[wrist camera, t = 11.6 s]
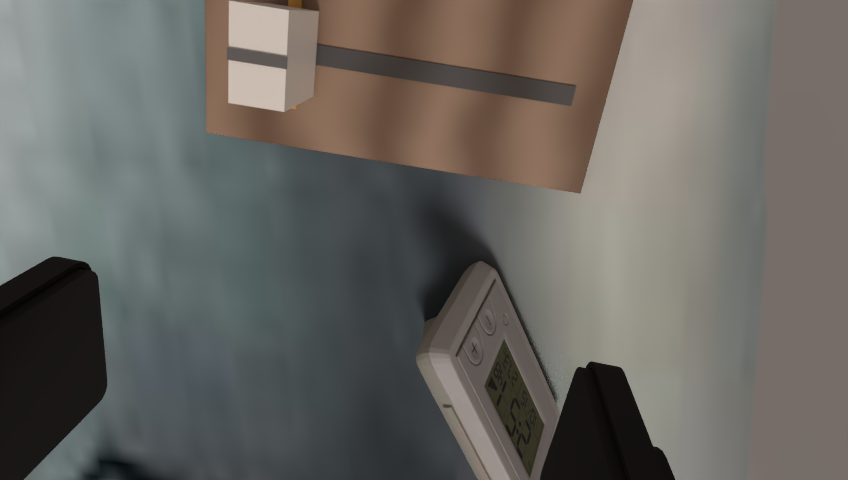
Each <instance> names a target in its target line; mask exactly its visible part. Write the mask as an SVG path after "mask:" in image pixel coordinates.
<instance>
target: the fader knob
mask: <svg viewBox="0 0 848 480" xmlns="http://www.w3.org/2000/svg"><path fill="white" fill-rule="evenodd" d="M318 19H319V11H314V10H308V9H302V8H296V7H289V6H283V5H277V4H271V3H258V2H243V1H229V47H227V60H229V63H228V103H232V104H238V105H244V106H250V107H256V108H263V109H269V110H275V111H281V112H285V111H287V110H289V109H291V108H293V107H295V106H296V105H298V104H300V103H302V102H304V101H306V100H308V99H310V98H311V97H313V95H314V80H315V65H316V50H317V35H318Z"/></svg>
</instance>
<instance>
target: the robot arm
mask: <svg viewBox="0 0 848 480" xmlns="http://www.w3.org/2000/svg"><path fill="white" fill-rule="evenodd" d="M106 388H107V373H106V361H105V350H104V339H103V328H102V317H101V305H100V294H99V283H98V277H97V275H96V273H95V272H93V271H91V268H90V266H89V265H88V264H87V263H85V262H82V261H77V260H72V259H67V258H62V257H51V258H48V259H46V260H45V261H43V262H41V263H39V264H38V265H36V266H34V267H32V268H31V269H29V270H27V271H25V272H24V273H22V274H20V275H18V276H17V277H15V278H13V279H11V280H9V281H8V282H6V283H4V284H2V285H1V286H0V480H24V479H25V478H26V477H27V476H28V475H29V474H30V473H31V471H32V470H33V469H34V468H35V467H36V466H37V465H38V464H39V463H40V462H41V461H42V460H43V459H44V458H45V457H46V456H47V455H48V454H49V453H50V452H51V451H52V450H53V449H54V448H55V447H56V446H57V445H58V444H59V443H60V442H61V441H62V440H63V439H64V438H65V437H66V436H67V435H68V434H69V433H70V432H71V431H72V430H73V429H74V428H75V427H76V426H77V425H78V424H79V423H80V422H81V421H82V419H83V418H84V417H85V416H86V415H87V414H88V413H89V412H90V411H91V410H92V409H93V408H94V407H95V406H96V405H97V404H98V403H99V402H100V401H101V400H102V398H103V396H104V394H105V392H106ZM540 480H675V478H674V475H673V473H672V470H671V468H670V466H669V463H668V461H667V458H666V457H665V455H664V453H663V451H662V450H660V449H659V448H658V447H653V445H652V443H651V440H650V437H649V435H648V432H647V430H646V427H645V425H644V422H643V419H642V417H641V414H640V412H639V409H638V407H637V404H636V402H635V399H634V396H633V394H632V391H631V389H630V386H629V384H628V381H627V378H626V376H625V373H624V371H623V369H622V368H620V367H617V366H612V365H606V364H601V363H596V362H589V363H588V365H587V366H586V368H582V367H578V368H577V369H576V371H575V374H574V376H573V379H572V382H571V385H570V388H569V391H568V394H567V397H566V400H565V403H564V406H563V409H562V412H561V415H560V418H559V421H558V424H557V427H556V430H555V432H554V435H553V438H552V441H551V444H550V447H549V450H548V453H547V456H546V459H545V462H544V465H543V468H542V471H541V476H540Z"/></svg>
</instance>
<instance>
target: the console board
mask: <svg viewBox="0 0 848 480" xmlns="http://www.w3.org/2000/svg"><path fill="white" fill-rule="evenodd" d="M229 1H243V2H258V3H271V4H277V5H283V6H289V7H296V8H302V9H308V10H314V11H319V19H318V35H317V50H316V65H315V80H314V95H313V97H311V98H310V99H308V100H306V101H304V102H302V103H300V104H298V105H296V106H295V107H293V108H291V109H289V110H287V111H285V112H281V111H275V110H269V109H263V108H256V107H250V106H244V105H238V104H232V103H228V63H229V60H227V47H229ZM632 3H633V0H205V28H206V133H212V134H219V135H225V136H231V137H237V138H243V139H249V140H255V141H262V142H268V143H274V144H280V145H286V146H292V147H298V148H305V149H311V150H317V151H323V152H329V153H335V154H341V155H348V156H354V157H360V158H366V159H372V160H378V161H384V162H391V163H397V164H403V165H409V166H415V167H421V168H427V169H434V170H440V171H446V172H452V173H458V174H464V175H470V176H477V177H483V178H489V179H495V180H501V181H507V182H513V183H520V184H526V185H532V186H538V187H544V188H550V189H556V190H563V191H569V192H575V193H581V189H582V186H583V182H584V178H585V175H586V171H587V167H588V164H589V160H590V156H591V153H592V149H593V145H594V142H595V138H596V134H597V131H598V127H599V123H600V120H601V116H602V113H603V109H604V105H605V102H606V98H607V94H608V91H609V87H610V83H611V80H612V76H613V72H614V69H615V65H616V61H617V58H618V54H619V50H620V47H621V43H622V39H623V36H624V32H625V28H626V25H627V21H628V17H629V14H630V10H631V6H632Z"/></svg>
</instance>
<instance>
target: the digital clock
mask: <svg viewBox="0 0 848 480" xmlns="http://www.w3.org/2000/svg"><path fill="white" fill-rule="evenodd" d="M416 361H417V365H418V367H419V369H420V372H421V373H422V375H423V377H424V379H425V381H426V383H427V385H428V387H429V389H430V391H431V393H432V395H433V397H434V399H435V400H436V402H437V404H438V406H439V408H440V410H441V412H442V413H443V415H444V417H445V419H446V421H447V423H448V425H449V426H450V428H451V430H452V432H453V434H454V436H455V438H456V439H457V441H458V443H459V445H460V447H461V449H462V451H463V452H464V454H465V456H466V458H467V460H468V462H469V464H470V465H471V467H472V469H473V471H474V473H475V475H476V477H477V478H478V480H540V476H541V471H542V468H543V465H544V462H545V459H546V456H547V453H548V450H549V447H550V444H551V441H552V438H553V435H554V432H555V430H556V427H557V424H558V421H559V418H560V414H559V410H558V407H557V405H556V403H555V400H554V398H553V396H552V393H551V391H550V389H549V386H548V384H547V382H546V380H545V377H544V375H543V373H542V371H541V368H540V366H539V364H538V362H537V359H536V357H535V355H534V353H533V350H532V348H531V346H530V344H529V341H528V339H527V337H526V335H525V333H524V330H523V328H522V326H521V324H520V321H519V319H518V317H517V315H516V312H515V310H514V308H513V306H512V303H511V301H510V299H509V297H508V294H507V292H506V290H505V288H504V286H503V283H502V281H501V279H500V277H499V275H498V273H497V271H496V270H495V269H494V268H492V267H491V266H489V265H488V264H486V263H484V262H483V261H478V262H475V263H473V264H472V265H470V266H469V267H468V268H467V269H466V271H465V272H464V273H463V275H462V276H461V278H460V280H459V281H458V283H457V284H456V286H455V288H454V289H453V291H452V293H451V294H450V296H449V298H448V299H447V301H446V303H445V304H444V306H443V308H442V309H441V311H440V312H439V314H438V316H437V317H434V318H432V319H429V320H427V321H426V322H425V323H424V330H423V337H422V343H421V344H420V346H419V348H418V350H417V354H416Z"/></svg>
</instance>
